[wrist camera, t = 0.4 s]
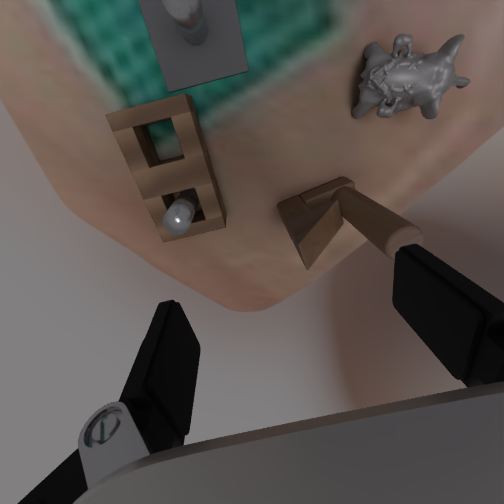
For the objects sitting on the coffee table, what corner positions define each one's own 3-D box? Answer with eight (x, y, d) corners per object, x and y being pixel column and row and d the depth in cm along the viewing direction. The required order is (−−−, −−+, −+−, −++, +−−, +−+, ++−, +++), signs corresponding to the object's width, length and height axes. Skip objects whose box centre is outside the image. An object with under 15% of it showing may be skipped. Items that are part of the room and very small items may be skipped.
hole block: (122, 115, 31) (105, 114, 27) (191, 96, 31) (184, 93, 26) (171, 228, 39) (163, 242, 34) (226, 215, 38) (225, 227, 34)
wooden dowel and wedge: (276, 203, 38) (307, 264, 22) (343, 175, 37) (427, 218, 21) (283, 223, 40) (317, 293, 24) (348, 197, 38) (429, 253, 23)
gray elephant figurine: (344, 53, 30) (371, 38, 23) (448, 15, 28) (510, -13, 22) (351, 134, 35) (376, 140, 28) (442, 104, 33) (491, 103, 26)
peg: (176, 14, 27) (148, -37, 18) (203, 6, 27) (188, -49, 18) (186, 48, 28) (165, 17, 19) (211, 41, 28) (201, 6, 19)
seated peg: (176, 190, 36) (158, 213, 27) (196, 185, 36) (184, 206, 27) (183, 209, 37) (168, 237, 29) (202, 204, 37) (193, 231, 29)
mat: (132, -20, 26) (130, -22, 25) (225, -47, 25) (225, -50, 25) (169, 92, 30) (168, 92, 30) (248, 71, 30) (248, 70, 30)
